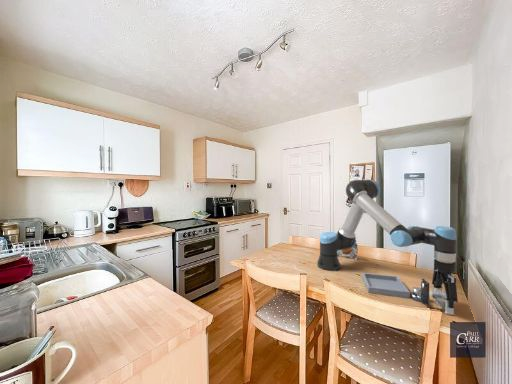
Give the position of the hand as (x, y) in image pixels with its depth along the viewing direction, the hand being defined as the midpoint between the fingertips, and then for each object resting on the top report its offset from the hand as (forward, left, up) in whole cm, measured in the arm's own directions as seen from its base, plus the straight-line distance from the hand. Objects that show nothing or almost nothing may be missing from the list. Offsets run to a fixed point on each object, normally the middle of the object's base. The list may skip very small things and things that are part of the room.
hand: (443, 307), depth 100 cm
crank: (-8, +2, +2) cm, 9 cm away
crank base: (-8, +6, 0) cm, 10 cm away
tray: (-21, +15, 0) cm, 26 cm away
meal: (-36, +58, -1) cm, 68 cm away
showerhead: (0, 0, 0) cm, 0 cm away
